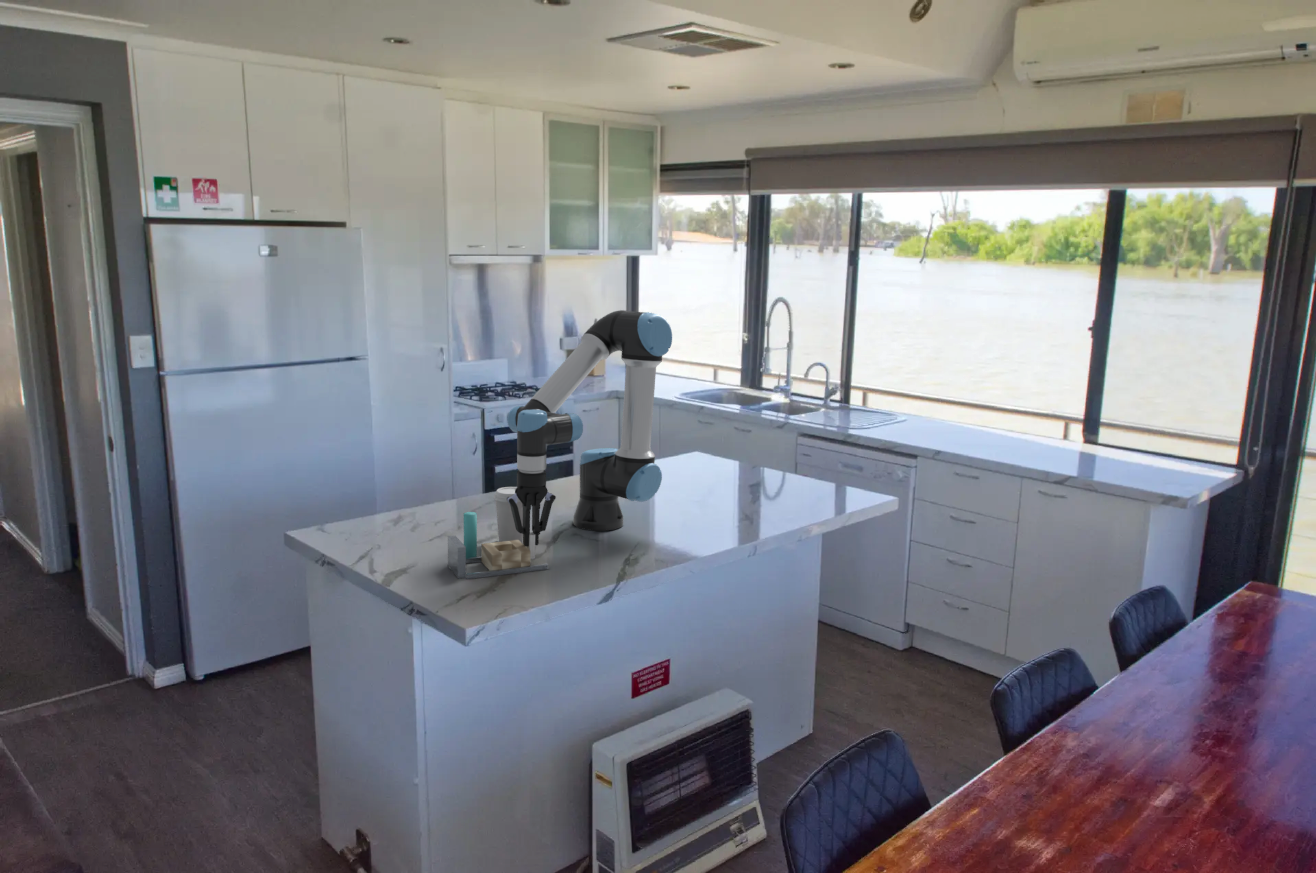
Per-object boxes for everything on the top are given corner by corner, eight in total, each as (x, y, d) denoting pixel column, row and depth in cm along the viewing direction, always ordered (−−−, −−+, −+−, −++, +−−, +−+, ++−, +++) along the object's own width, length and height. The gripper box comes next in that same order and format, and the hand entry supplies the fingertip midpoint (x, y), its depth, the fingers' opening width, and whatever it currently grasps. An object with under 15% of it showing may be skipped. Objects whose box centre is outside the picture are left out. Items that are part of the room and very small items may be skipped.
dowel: (474, 554, 249) (474, 511, 247) (478, 558, 246) (478, 514, 244) (462, 556, 248) (462, 512, 245) (465, 559, 245) (465, 516, 242)
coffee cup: (521, 548, 256) (521, 496, 253) (488, 545, 257) (488, 493, 254) (532, 538, 265) (533, 487, 262) (500, 535, 267) (501, 485, 264)
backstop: (532, 554, 251) (532, 526, 249) (547, 569, 240) (548, 539, 238) (446, 564, 240) (446, 535, 239) (459, 580, 230) (458, 549, 228)
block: (518, 557, 248) (518, 539, 247) (530, 569, 239) (530, 551, 238) (481, 561, 243) (481, 543, 242) (492, 573, 234) (492, 555, 234)
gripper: (550, 465, 245) (549, 550, 250) (502, 468, 240) (502, 555, 244) (560, 471, 239) (558, 559, 243) (511, 475, 233) (511, 564, 238)
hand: (530, 557), depth 244 cm, fingers closed
